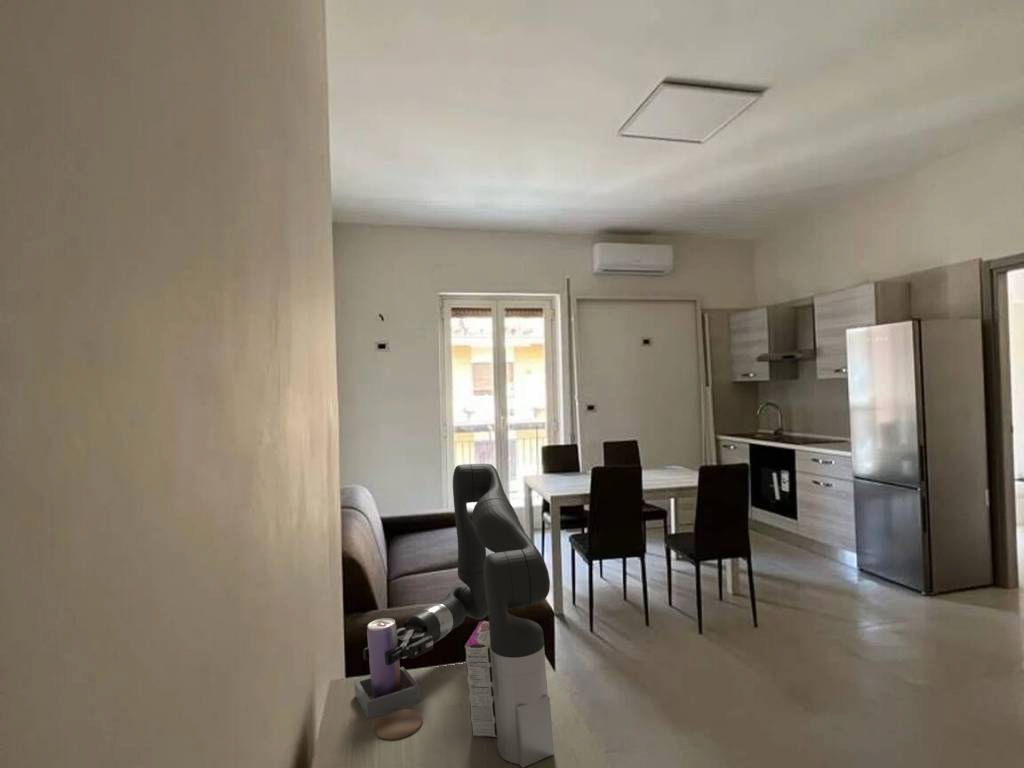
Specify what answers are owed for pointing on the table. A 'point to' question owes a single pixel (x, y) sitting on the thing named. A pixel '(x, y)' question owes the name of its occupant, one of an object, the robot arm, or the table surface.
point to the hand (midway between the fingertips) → (375, 657)
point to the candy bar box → (481, 682)
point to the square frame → (387, 696)
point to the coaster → (398, 724)
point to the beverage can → (383, 657)
